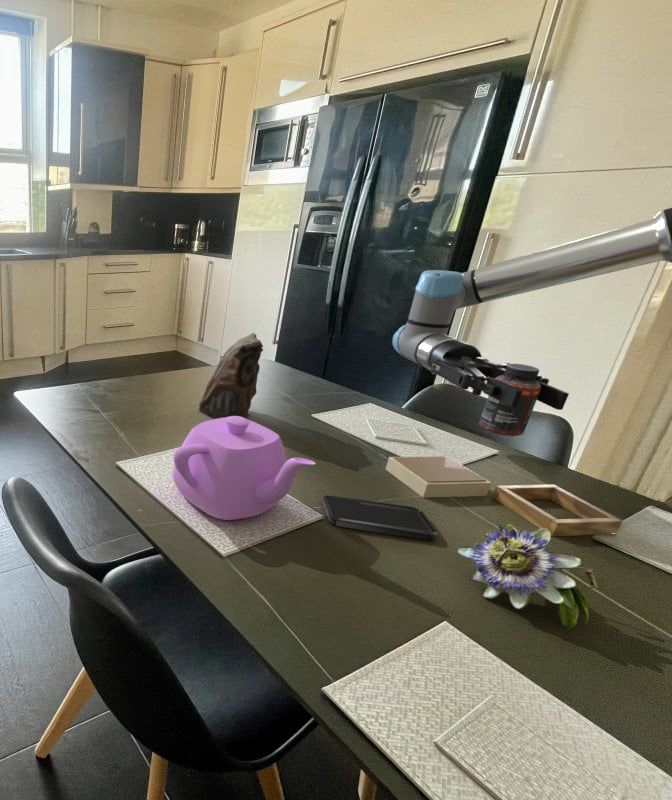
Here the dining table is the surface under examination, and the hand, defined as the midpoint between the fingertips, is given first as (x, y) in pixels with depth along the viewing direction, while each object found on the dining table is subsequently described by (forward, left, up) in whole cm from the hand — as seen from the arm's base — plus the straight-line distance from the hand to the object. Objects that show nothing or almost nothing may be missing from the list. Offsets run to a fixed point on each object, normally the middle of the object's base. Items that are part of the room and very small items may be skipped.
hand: (539, 400), depth 75 cm
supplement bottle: (-1, -5, -8) cm, 9 cm away
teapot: (+45, -5, -20) cm, 49 cm away
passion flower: (+15, +19, -20) cm, 31 cm away
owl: (+32, -42, -20) cm, 57 cm away
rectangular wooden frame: (-8, +2, -20) cm, 22 cm away
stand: (+4, -9, -20) cm, 23 cm away
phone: (+23, +2, -20) cm, 31 cm away
